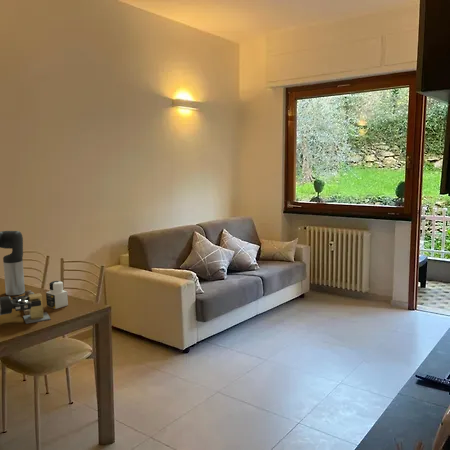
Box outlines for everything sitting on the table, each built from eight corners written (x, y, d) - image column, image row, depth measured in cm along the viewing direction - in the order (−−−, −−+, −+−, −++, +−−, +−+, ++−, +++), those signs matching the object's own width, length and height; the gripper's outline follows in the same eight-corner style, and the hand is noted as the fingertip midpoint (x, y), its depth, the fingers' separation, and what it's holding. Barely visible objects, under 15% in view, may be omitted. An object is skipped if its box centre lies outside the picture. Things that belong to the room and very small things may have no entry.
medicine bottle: (46, 306, 222) (45, 282, 221) (59, 302, 228) (58, 279, 226) (55, 309, 218) (53, 284, 216) (68, 305, 224) (66, 281, 222)
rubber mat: (23, 316, 208) (23, 315, 208) (46, 313, 213) (46, 312, 213) (26, 323, 199) (25, 322, 199) (50, 319, 204) (50, 318, 204)
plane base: (19, 303, 227) (18, 287, 226) (37, 300, 231) (36, 285, 230) (25, 315, 210) (23, 298, 209) (43, 312, 214) (42, 295, 213)
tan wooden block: (29, 316, 207) (28, 294, 205) (41, 314, 209) (40, 293, 208) (31, 319, 203) (29, 297, 201) (43, 317, 205) (42, 295, 204)
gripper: (-1, 302, 191) (41, 296, 199) (-3, 293, 203) (36, 288, 211) (1, 319, 192) (42, 313, 200) (-2, 310, 204) (37, 304, 212)
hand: (39, 300), depth 206 cm, fingers open, 8 cm apart
